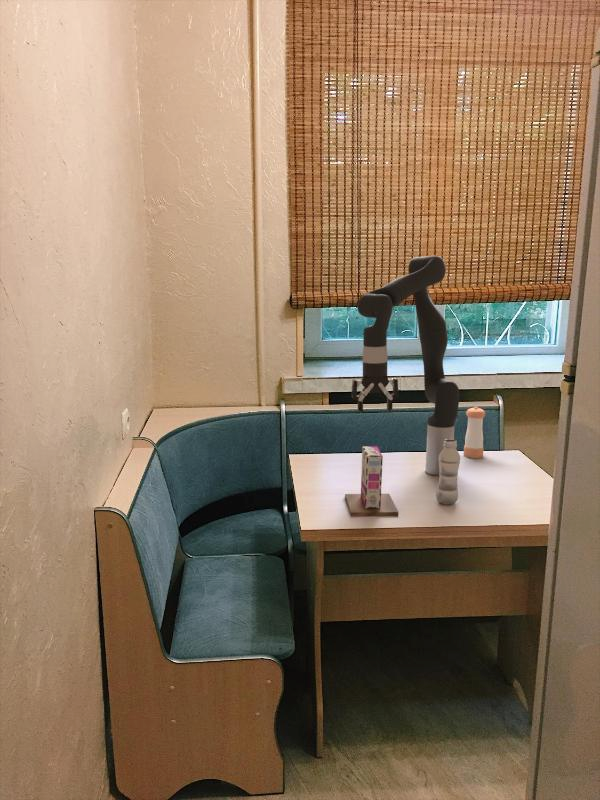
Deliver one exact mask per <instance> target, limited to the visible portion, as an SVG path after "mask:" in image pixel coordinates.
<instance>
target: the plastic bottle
mask: <svg viewBox="0 0 600 800" xmlns="http://www.w3.org/2000/svg"><path fill="white" fill-rule="evenodd" d="M443 446H444V449H443V450H442V451H441V453H440V454H439V473H440V474H439V476H438V477H439V478H438V479H439V480H438V486H437V490H436V493H435V494H436V495H435V497H436V500H437V502H438V503H440V504H443V505H454V504H456V503H457V501H458V499H459V490H458V474H459V469H460V468H459V467H460V463H461V454H460V453H459V451H458V450H457V440H455V439H454V440H453V439H446V440H444V445H443Z"/></svg>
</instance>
